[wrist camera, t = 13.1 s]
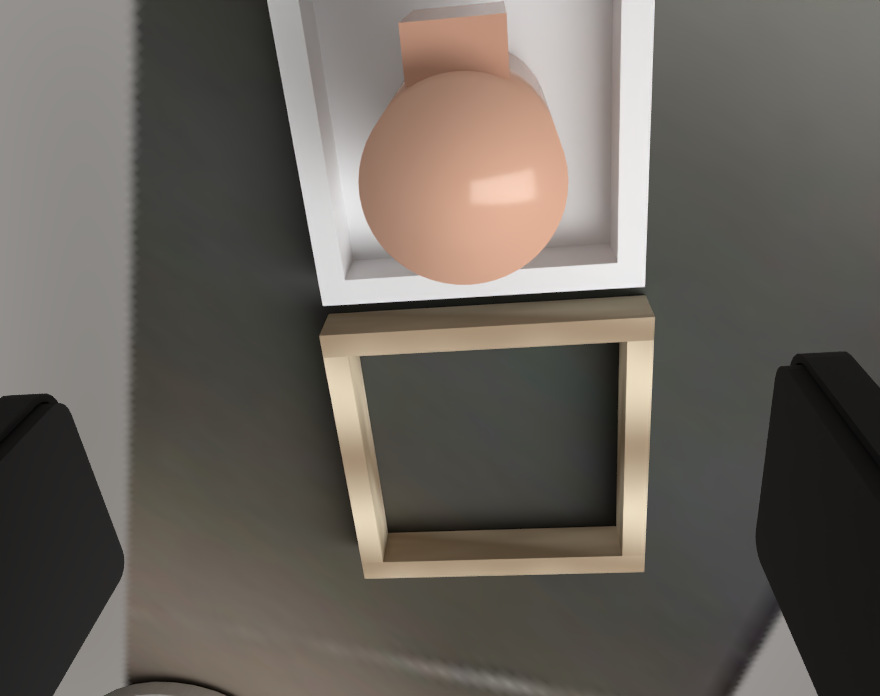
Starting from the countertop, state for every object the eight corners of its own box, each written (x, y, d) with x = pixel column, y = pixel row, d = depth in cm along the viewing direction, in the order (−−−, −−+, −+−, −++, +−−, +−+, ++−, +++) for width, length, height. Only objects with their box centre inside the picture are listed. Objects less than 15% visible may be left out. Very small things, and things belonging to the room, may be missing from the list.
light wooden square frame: (637, 541, 37) (644, 571, 35) (370, 549, 38) (365, 578, 36) (645, 295, 31) (654, 317, 29) (328, 313, 32) (319, 335, 30)
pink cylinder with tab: (550, 195, 28) (569, 278, 21) (401, 205, 29) (372, 290, 22) (545, -8, 25) (566, 12, 18) (378, 8, 26) (335, 33, 19)
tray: (633, 261, 30) (644, 286, 28) (334, 279, 31) (322, 306, 29) (643, -89, 24) (657, -92, 22) (278, -50, 26) (258, -49, 23)
